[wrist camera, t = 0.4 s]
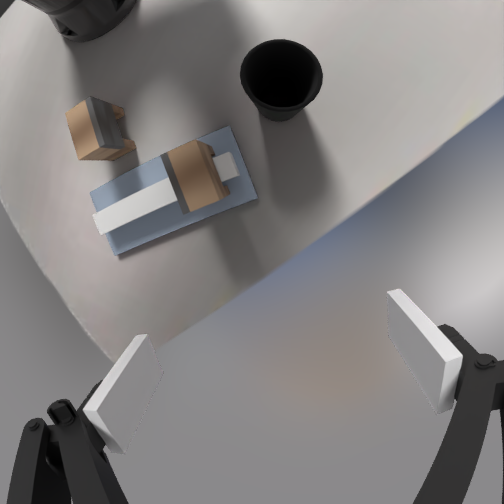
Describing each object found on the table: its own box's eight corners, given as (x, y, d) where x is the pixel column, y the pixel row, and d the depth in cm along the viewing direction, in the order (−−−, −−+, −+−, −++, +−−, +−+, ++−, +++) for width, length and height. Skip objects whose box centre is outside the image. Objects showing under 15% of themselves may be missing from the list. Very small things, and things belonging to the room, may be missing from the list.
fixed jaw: (230, 194, 39) (219, 200, 30) (201, 205, 40) (183, 214, 31) (211, 146, 38) (195, 139, 29) (183, 158, 38) (160, 155, 30)
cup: (236, 95, 37) (223, 66, 25) (283, 64, 35) (288, 26, 24) (272, 140, 38) (273, 127, 26) (319, 108, 37) (339, 84, 25)
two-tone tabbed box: (100, 121, 38) (65, 113, 30) (122, 108, 38) (90, 96, 29) (113, 160, 40) (78, 160, 31) (136, 148, 39) (104, 144, 30)
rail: (92, 192, 41) (78, 194, 37) (230, 126, 38) (226, 121, 34) (117, 254, 43) (105, 261, 39) (257, 197, 40) (256, 200, 36)
